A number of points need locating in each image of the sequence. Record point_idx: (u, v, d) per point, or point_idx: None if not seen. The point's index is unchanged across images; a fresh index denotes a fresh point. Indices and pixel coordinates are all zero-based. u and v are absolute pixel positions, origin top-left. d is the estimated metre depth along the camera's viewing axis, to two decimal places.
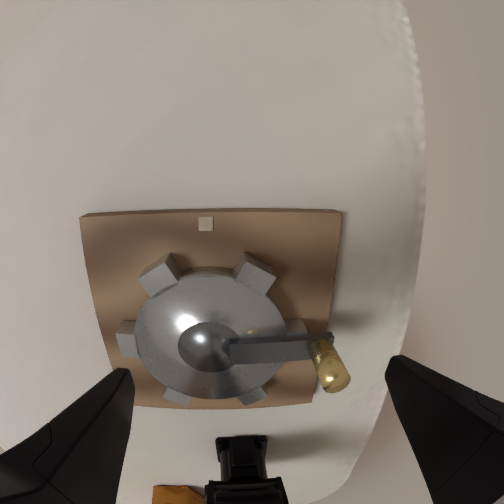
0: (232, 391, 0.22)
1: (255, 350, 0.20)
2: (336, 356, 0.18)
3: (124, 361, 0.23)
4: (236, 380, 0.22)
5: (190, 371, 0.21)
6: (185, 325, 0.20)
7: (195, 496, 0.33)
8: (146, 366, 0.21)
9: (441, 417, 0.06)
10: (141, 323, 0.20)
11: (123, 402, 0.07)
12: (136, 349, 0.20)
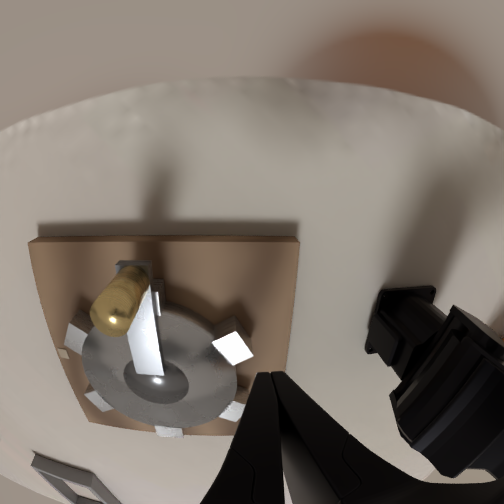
0: (221, 368, 0.18)
1: (140, 353, 0.16)
2: None
3: (210, 427, 0.23)
4: (201, 364, 0.18)
5: (190, 399, 0.19)
6: (132, 394, 0.19)
7: None
8: (190, 426, 0.20)
9: (298, 457, 0.05)
10: (141, 419, 0.20)
11: None
12: (170, 428, 0.20)
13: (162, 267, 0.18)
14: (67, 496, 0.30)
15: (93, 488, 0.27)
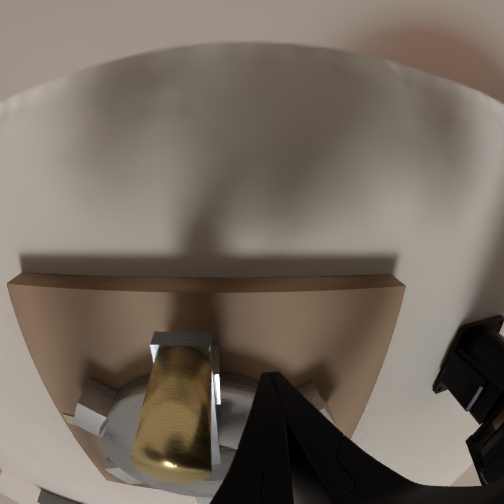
0: None
1: None
2: (142, 405, 0.07)
3: None
4: None
5: None
6: None
7: None
8: None
9: (293, 458, 0.05)
10: (179, 492, 0.14)
11: None
12: None
13: (217, 329, 0.12)
14: None
15: None
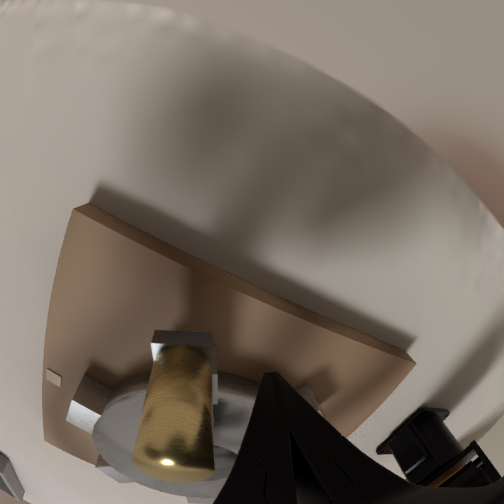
0: None
1: None
2: (144, 404, 0.07)
3: None
4: None
5: None
6: None
7: None
8: None
9: None
10: (170, 491, 0.13)
11: None
12: (206, 497, 0.14)
13: (289, 350, 0.13)
14: None
15: (4, 474, 0.15)
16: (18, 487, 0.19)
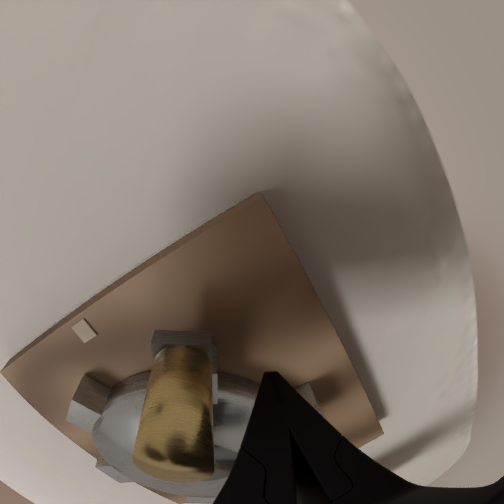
0: None
1: None
2: (143, 404, 0.07)
3: None
4: None
5: None
6: None
7: None
8: None
9: None
10: (170, 491, 0.13)
11: None
12: (206, 497, 0.14)
13: (331, 392, 0.14)
14: None
15: None
16: None
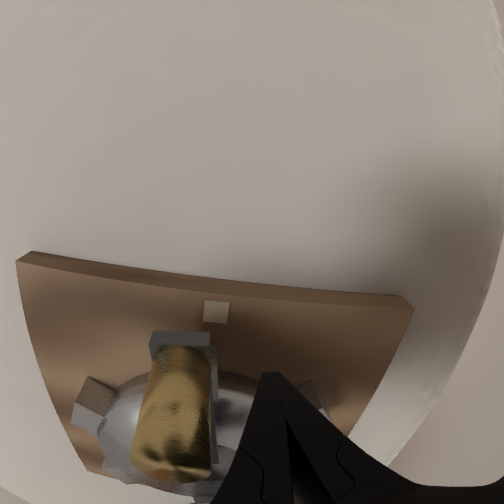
0: None
1: None
2: (141, 405, 0.07)
3: (85, 440, 0.14)
4: None
5: None
6: None
7: None
8: None
9: (293, 458, 0.05)
10: (176, 491, 0.14)
11: None
12: (212, 497, 0.14)
13: None
14: None
15: None
16: None
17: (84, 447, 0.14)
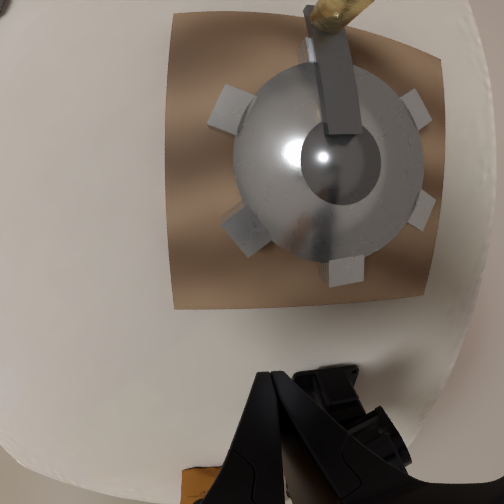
0: (409, 134, 0.14)
1: (336, 99, 0.13)
2: None
3: (191, 215, 0.17)
4: (392, 127, 0.14)
5: (380, 189, 0.15)
6: (308, 194, 0.15)
7: None
8: (376, 249, 0.16)
9: (298, 457, 0.05)
10: (311, 253, 0.16)
11: None
12: (350, 261, 0.17)
13: (427, 188, 0.18)
14: None
15: None
16: None
17: (185, 237, 0.17)
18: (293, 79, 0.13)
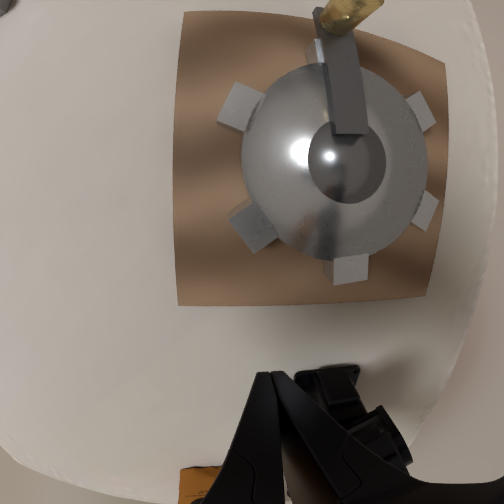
0: (414, 136, 0.14)
1: (343, 99, 0.13)
2: None
3: (198, 211, 0.17)
4: (397, 128, 0.14)
5: (385, 189, 0.15)
6: (314, 192, 0.15)
7: None
8: (380, 248, 0.17)
9: (298, 457, 0.05)
10: (317, 250, 0.16)
11: None
12: (354, 259, 0.17)
13: (430, 190, 0.18)
14: None
15: None
16: None
17: (191, 233, 0.17)
18: (302, 79, 0.13)
